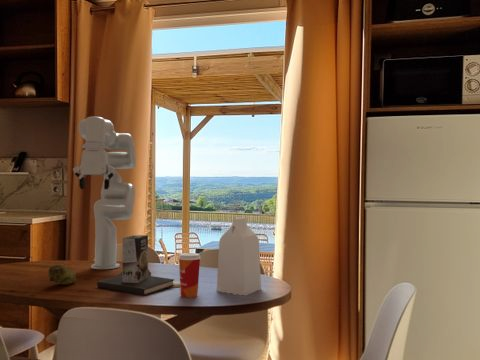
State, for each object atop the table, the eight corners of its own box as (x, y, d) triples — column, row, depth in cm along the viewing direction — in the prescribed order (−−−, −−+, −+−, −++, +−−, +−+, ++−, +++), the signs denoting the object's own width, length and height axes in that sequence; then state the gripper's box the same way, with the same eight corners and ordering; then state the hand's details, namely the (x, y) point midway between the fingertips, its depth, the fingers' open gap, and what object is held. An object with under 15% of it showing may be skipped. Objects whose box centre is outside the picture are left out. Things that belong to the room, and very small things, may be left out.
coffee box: (138, 283, 150) (138, 238, 150) (122, 282, 152) (121, 237, 152) (149, 277, 159) (148, 234, 159) (133, 277, 161) (132, 234, 161)
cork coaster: (166, 282, 163) (166, 281, 163) (187, 283, 163) (187, 281, 163) (163, 287, 155) (163, 286, 155) (184, 287, 155) (184, 286, 155)
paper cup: (178, 293, 147) (178, 252, 147) (200, 292, 147) (201, 252, 148) (176, 298, 139) (177, 256, 139) (200, 298, 140) (200, 256, 140)
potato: (84, 282, 162) (85, 261, 162) (56, 289, 151) (56, 267, 151) (69, 280, 166) (70, 260, 166) (40, 286, 154) (41, 265, 155)
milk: (244, 295, 144) (244, 219, 145) (216, 291, 150) (217, 218, 151) (261, 289, 154) (261, 217, 155) (234, 285, 160) (235, 216, 161)
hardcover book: (129, 278, 168) (128, 272, 168) (174, 285, 156) (174, 279, 156) (96, 287, 154) (96, 281, 154) (143, 295, 142) (143, 289, 142)
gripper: (70, 146, 168) (69, 189, 168) (113, 146, 169) (113, 189, 168) (77, 147, 176) (76, 188, 176) (118, 148, 176) (118, 189, 176)
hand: (94, 189), depth 172 cm, fingers open, 9 cm apart
